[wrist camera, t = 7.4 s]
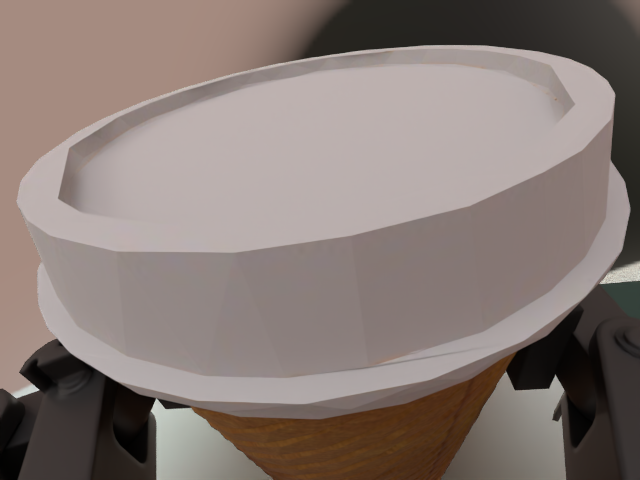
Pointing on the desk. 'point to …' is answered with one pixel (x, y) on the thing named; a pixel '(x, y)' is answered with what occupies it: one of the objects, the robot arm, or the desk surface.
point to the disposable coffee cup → (333, 246)
